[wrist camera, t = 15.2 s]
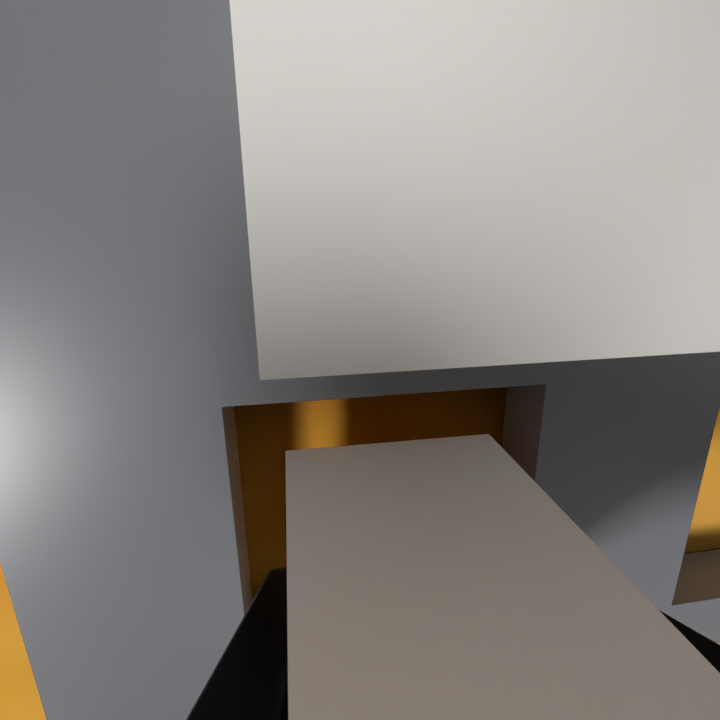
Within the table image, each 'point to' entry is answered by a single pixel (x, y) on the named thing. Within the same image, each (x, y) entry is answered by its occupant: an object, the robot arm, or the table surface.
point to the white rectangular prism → (465, 597)
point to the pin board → (338, 286)
